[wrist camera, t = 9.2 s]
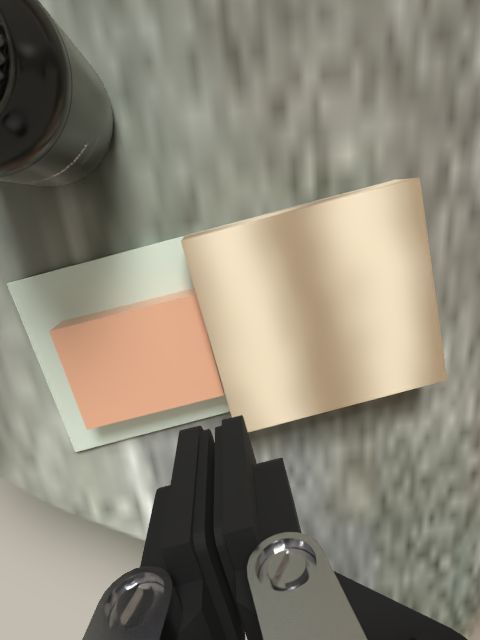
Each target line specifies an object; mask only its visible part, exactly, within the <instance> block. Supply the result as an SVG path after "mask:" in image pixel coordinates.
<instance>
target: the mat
mask: <svg viewBox="0 0 480 640" xmlns="http://www.w3.org/2000/svg"><path fill="white" fill-rule="evenodd" d="M397 180H398V179H397ZM393 181H394V180H393ZM389 182H390V181H389ZM385 183H386V182H385ZM381 184H383V183H381ZM378 185H379V184H378ZM374 186H375V185H374ZM370 187H371V186H370ZM366 188H368V187H366ZM363 189H364V188H363ZM359 190H360V189H359ZM355 191H356V190H355ZM351 192H353V191H351ZM347 193H349V192H347ZM344 194H345V193H344ZM340 195H341V194H340ZM336 196H337V195H336ZM332 197H334V196H332ZM329 198H330V197H329ZM325 199H326V198H325ZM321 200H322V199H321ZM317 201H319V200H317ZM314 202H315V201H314ZM310 203H311V202H310ZM306 204H307V203H306ZM302 205H304V204H302ZM299 206H300V205H299ZM295 207H296V206H295ZM291 208H292V207H291ZM287 209H289V208H287ZM283 210H285V209H283ZM280 211H281V210H280ZM276 212H277V211H276ZM272 213H273V212H272ZM268 214H270V213H268ZM265 215H266V214H265ZM261 216H262V215H261ZM257 217H258V216H257ZM253 218H255V217H253ZM250 219H251V218H250ZM246 220H247V219H246ZM242 221H243V220H242ZM238 222H240V221H238ZM235 223H236V222H235ZM231 224H232V223H231ZM227 225H228V224H227ZM223 226H225V225H223ZM219 227H221V226H219ZM216 228H217V227H216ZM212 229H213V228H212ZM208 230H209V229H208ZM204 231H206V230H204ZM201 232H202V231H201ZM197 233H198V232H197ZM193 234H194V233H193ZM189 235H191V234H189ZM186 236H187V235H186ZM183 237H184V236H182V237H178V238H174V239H171V240H167V241H163V242H159V243H155V244H152V245H148V246H144V247H140V248H137V249H133V250H129V251H125V252H122V253H118V254H114V255H110V256H107V257H103V258H99V259H95V260H91V261H88V262H84V263H80V264H76V265H73V266H69V267H65V268H61V269H58V270H54V271H50V272H46V273H43V274H39V275H35V276H31V277H27V278H24V279H20V280H16V281H12V282H9V283H6V284H7V286H8V288H9V291H10V293H11V296H12V298H13V301H14V303H15V306H16V308H17V310H18V313H19V315H20V318H21V320H22V323H23V325H24V328H25V330H26V332H27V335H28V337H29V340H30V342H31V345H32V347H33V349H34V352H35V354H36V357H37V359H38V362H39V364H40V367H41V369H42V371H43V374H44V376H45V379H46V381H47V384H48V386H49V389H50V391H51V393H52V396H53V398H54V401H55V403H56V406H57V408H58V410H59V413H60V415H61V418H62V420H63V423H64V425H65V428H66V430H67V432H68V435H69V437H70V440H71V442H72V445H73V447H74V450H75V452H78V451H82V450H86V449H90V448H93V447H97V446H101V445H105V444H109V443H112V442H116V441H120V440H124V439H128V438H131V437H135V436H139V435H143V434H147V433H150V432H154V431H158V430H162V429H166V428H169V427H173V426H177V425H181V424H185V423H188V422H192V421H196V420H200V419H204V418H207V417H211V416H215V415H219V414H223V413H226V412H230V409H229V405H228V402H227V399H226V395H225V392H224V395H223V396H219V397H215V398H211V399H207V400H203V401H199V402H195V403H191V404H187V405H183V406H179V407H176V408H172V409H168V410H164V411H160V412H156V413H152V414H148V415H144V416H140V417H136V418H132V419H128V420H124V421H120V422H116V423H112V424H108V425H104V426H100V427H96V428H92V429H88V430H87V429H86V426H85V424H84V421H83V418H82V416H81V413H80V411H79V408H78V405H77V403H76V400H75V397H74V395H73V392H72V390H71V387H70V384H69V382H68V379H67V376H66V374H65V371H64V369H63V366H62V363H61V361H60V358H59V355H58V353H57V350H56V348H55V345H54V342H53V340H52V337H51V334H50V332H49V331H50V330H51V329H53V328H54V327H55V326H56V325H58V324H59V323H60V322H61V321H64V320H68V319H72V318H76V317H80V316H84V315H88V314H92V313H96V312H100V311H104V310H108V309H112V308H116V307H120V306H124V305H128V304H132V303H136V302H140V301H144V300H148V299H152V298H156V297H159V296H163V295H167V294H171V293H175V292H179V291H183V290H187V289H191V288H194V285H193V281H192V278H191V274H190V271H189V267H188V264H187V261H186V257H185V254H184V250H183V247H182V243H181V240H182V239H183Z"/></svg>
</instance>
